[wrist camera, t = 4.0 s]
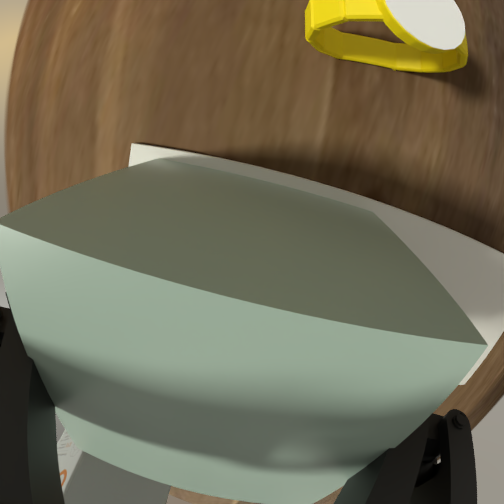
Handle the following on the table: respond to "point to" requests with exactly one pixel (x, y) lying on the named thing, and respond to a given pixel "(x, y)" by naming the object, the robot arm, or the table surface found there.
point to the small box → (102, 480)
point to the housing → (229, 329)
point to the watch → (401, 24)
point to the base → (407, 229)
